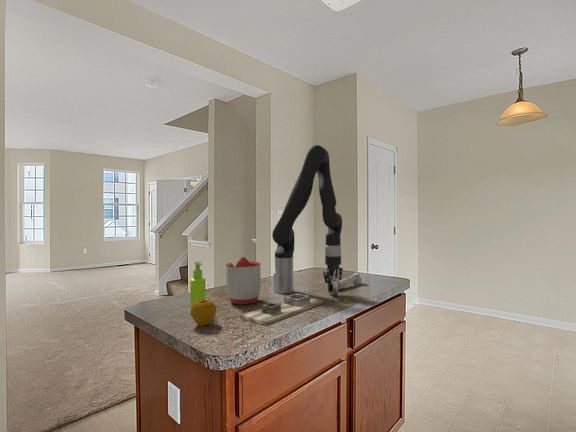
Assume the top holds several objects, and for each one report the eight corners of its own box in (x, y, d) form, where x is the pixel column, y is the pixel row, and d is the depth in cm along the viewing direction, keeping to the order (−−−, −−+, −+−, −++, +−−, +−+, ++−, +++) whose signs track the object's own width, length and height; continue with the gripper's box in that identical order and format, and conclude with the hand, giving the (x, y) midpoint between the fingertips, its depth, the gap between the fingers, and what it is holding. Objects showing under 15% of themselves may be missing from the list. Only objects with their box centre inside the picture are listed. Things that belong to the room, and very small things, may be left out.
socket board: (240, 318, 122) (240, 307, 121) (299, 298, 149) (299, 290, 149) (265, 325, 113) (265, 314, 113) (323, 303, 141) (323, 294, 141)
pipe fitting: (326, 294, 153) (326, 277, 153) (332, 292, 157) (331, 276, 157) (334, 296, 150) (334, 278, 150) (340, 294, 154) (339, 277, 154)
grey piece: (328, 283, 164) (354, 269, 182) (330, 295, 165) (355, 281, 183) (337, 284, 160) (363, 270, 178) (338, 297, 161) (364, 282, 179)
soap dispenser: (192, 315, 126) (192, 263, 126) (189, 310, 132) (188, 261, 132) (207, 313, 129) (207, 262, 129) (203, 308, 135) (203, 260, 135)
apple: (220, 326, 113) (220, 300, 113) (195, 331, 108) (194, 304, 108) (211, 319, 121) (211, 295, 121) (187, 323, 116) (187, 298, 116)
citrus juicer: (249, 294, 157) (248, 253, 157) (268, 302, 143) (267, 257, 143) (218, 300, 148) (218, 256, 148) (236, 308, 134) (235, 260, 134)
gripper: (334, 252, 161) (334, 287, 161) (317, 255, 150) (318, 292, 151) (347, 253, 156) (348, 289, 157) (331, 256, 146) (331, 295, 146)
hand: (333, 290), depth 154 cm, fingers closed on pipe fitting, 4 cm apart
